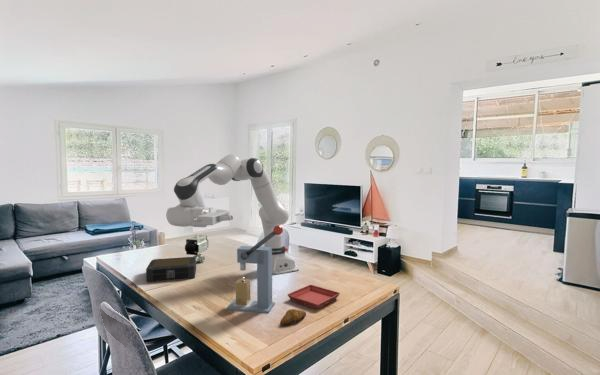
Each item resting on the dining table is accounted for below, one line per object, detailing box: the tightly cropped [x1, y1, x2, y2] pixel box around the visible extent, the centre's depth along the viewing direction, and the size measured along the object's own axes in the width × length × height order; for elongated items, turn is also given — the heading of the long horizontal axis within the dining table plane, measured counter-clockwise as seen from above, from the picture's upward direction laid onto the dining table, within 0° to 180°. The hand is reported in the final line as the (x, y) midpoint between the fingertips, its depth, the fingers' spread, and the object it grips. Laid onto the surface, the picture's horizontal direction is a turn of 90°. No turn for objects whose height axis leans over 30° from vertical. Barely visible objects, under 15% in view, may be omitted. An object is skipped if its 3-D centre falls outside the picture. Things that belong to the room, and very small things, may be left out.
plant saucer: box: [287, 284, 341, 310], centre depth 154 cm, size 18×18×3 cm
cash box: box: [145, 256, 197, 283], centre depth 189 cm, size 25×20×8 cm
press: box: [225, 245, 275, 314], centre depth 146 cm, size 19×10×26 cm, turn 80°
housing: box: [235, 276, 251, 306], centre depth 148 cm, size 5×5×12 cm
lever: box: [241, 225, 284, 260], centre depth 139 cm, size 4×4×22 cm
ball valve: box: [184, 234, 209, 264], centre depth 215 cm, size 18×8×18 cm, turn 168°
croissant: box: [279, 308, 307, 327], centre depth 133 cm, size 14×7×5 cm, turn 135°
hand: (231, 217), depth 143 cm, fingers closed
